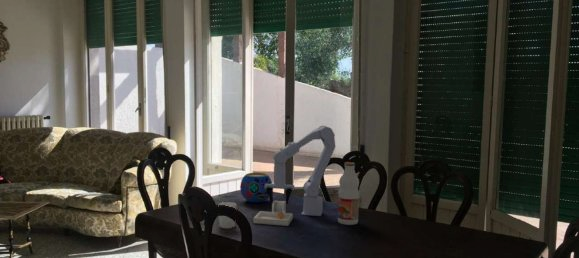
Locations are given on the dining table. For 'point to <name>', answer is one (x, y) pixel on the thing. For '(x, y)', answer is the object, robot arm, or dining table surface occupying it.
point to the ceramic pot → (255, 187)
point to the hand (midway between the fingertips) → (279, 203)
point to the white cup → (226, 221)
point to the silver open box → (279, 206)
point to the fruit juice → (348, 196)
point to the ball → (280, 215)
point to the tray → (273, 218)
